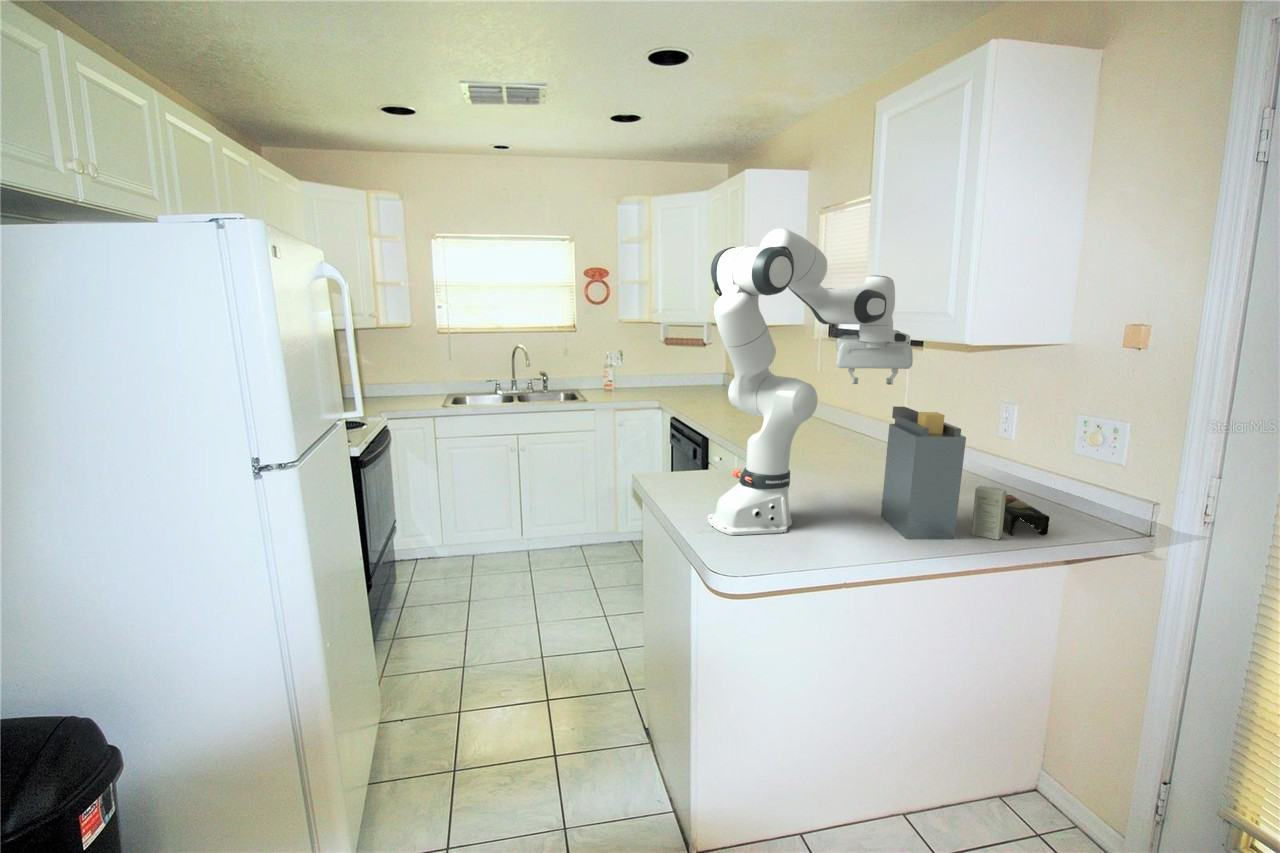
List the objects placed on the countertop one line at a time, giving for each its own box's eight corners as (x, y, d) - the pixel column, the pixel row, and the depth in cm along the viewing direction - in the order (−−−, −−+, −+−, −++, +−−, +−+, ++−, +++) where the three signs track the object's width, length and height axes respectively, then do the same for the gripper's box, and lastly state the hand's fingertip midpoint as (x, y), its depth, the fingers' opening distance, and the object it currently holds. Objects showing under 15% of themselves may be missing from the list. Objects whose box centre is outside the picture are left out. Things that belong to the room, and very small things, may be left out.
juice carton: (972, 510, 174) (975, 489, 173) (1008, 511, 174) (1011, 491, 172) (1008, 537, 155) (1011, 514, 153) (1048, 539, 154) (1052, 516, 153)
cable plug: (889, 417, 171) (891, 401, 170) (906, 417, 171) (907, 401, 170) (923, 433, 150) (925, 414, 149) (942, 433, 150) (944, 415, 150)
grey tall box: (880, 516, 167) (890, 416, 162) (924, 517, 167) (935, 416, 162) (905, 538, 152) (917, 428, 146) (954, 539, 152) (967, 428, 146)
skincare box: (1002, 536, 154) (1008, 489, 152) (998, 540, 151) (1004, 493, 149) (974, 529, 158) (979, 484, 156) (969, 534, 155) (975, 488, 153)
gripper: (838, 335, 170) (835, 385, 173) (916, 336, 167) (912, 386, 170) (835, 334, 176) (832, 382, 179) (910, 334, 173) (906, 383, 176)
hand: (871, 384), depth 174 cm, fingers open, 8 cm apart
